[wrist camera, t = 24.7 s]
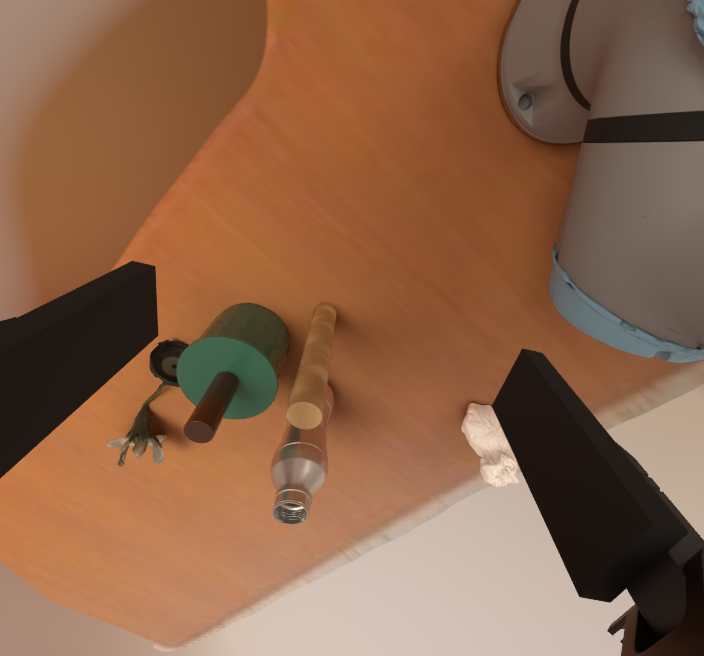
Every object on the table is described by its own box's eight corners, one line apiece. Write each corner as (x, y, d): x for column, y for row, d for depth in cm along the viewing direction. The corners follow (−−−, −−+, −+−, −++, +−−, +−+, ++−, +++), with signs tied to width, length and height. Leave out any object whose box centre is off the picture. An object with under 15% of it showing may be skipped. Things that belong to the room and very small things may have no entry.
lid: (280, 337, 38) (258, 389, 30) (279, 416, 44) (260, 479, 36) (174, 326, 38) (124, 376, 30) (186, 408, 43) (146, 469, 35)
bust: (451, 395, 55) (434, 466, 50) (488, 388, 49) (472, 469, 44) (506, 428, 58) (495, 498, 53) (548, 425, 52) (539, 505, 47)
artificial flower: (222, 356, 52) (210, 414, 45) (163, 429, 62) (146, 485, 55) (159, 332, 47) (135, 392, 40) (107, 415, 58) (81, 474, 51)
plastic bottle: (283, 381, 52) (243, 503, 34) (323, 365, 51) (304, 484, 33) (304, 412, 55) (277, 540, 37) (343, 397, 53) (334, 524, 36)
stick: (337, 304, 46) (323, 403, 28) (335, 324, 48) (321, 431, 30) (314, 301, 46) (286, 400, 28) (313, 322, 47) (285, 428, 30)
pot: (290, 307, 47) (274, 343, 38) (288, 371, 51) (274, 416, 43) (211, 299, 46) (177, 333, 38) (216, 364, 51) (188, 408, 43)
